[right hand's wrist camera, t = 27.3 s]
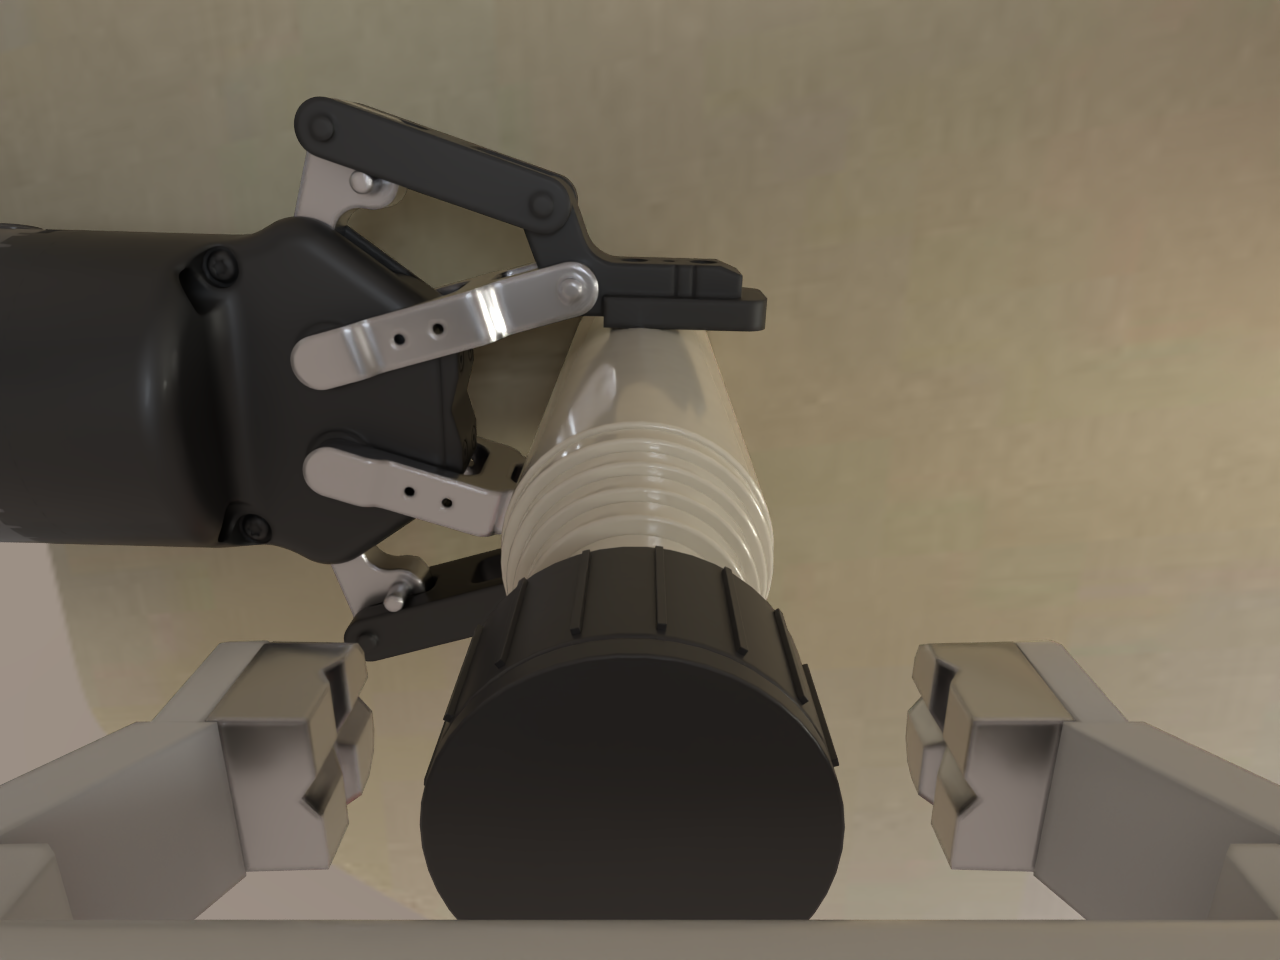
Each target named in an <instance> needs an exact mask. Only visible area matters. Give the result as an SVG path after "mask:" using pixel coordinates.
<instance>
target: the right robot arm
mask: <svg viewBox="0 0 1280 960" xmlns="http://www.w3.org/2000/svg"><path fill="white" fill-rule="evenodd" d="M367 678H368V674H367V668H366V662H365V655H364V651H363V650H362V648H361V647H360V645H359V644H358V643H328V642H276V641H273V642H269V641H230V642H224V643H220V644H219V645H218V646H217V647H216V648H215V649H214V650H213V651H212V652H211V654H210V655H209V656H208V657H207V658H206V659H205V660H204V662H203V663H202V664H201V665H200V666H199V667H198V668H197V670H196V671H195V672H194V673H193V674H192V675H191V676H190V678H189V679H188V680H187V681H186V682H185V683H184V684H183V686H182V687H181V688H180V689H179V690H178V691H177V692H176V694H175V695H174V696H173V697H172V698H171V699H170V700H169V702H168V703H167V704H166V705H165V706H164V707H163V708H162V710H161V711H160V712H159V713H158V714H157V715H156V716H155V718H154V719H153V720H152V721H151V722H135V723H133V724H131V725H128V726H126V727H124V728H122V729H120V730H118V731H116V732H113V733H111V734H109V735H107V736H105V737H103V738H101V739H98V740H96V741H94V742H92V743H90V744H88V745H86V746H84V747H81V748H79V749H77V750H75V751H73V752H71V753H69V754H66V755H64V756H62V757H60V758H58V759H56V760H53V761H51V762H49V763H47V764H45V765H43V766H41V767H38V768H36V769H34V770H32V771H30V772H28V773H26V774H23V775H21V776H19V777H17V778H15V779H13V780H11V781H8V782H6V783H4V784H2V785H0V960H1280V785H1278V784H1276V783H1273V782H1271V781H1269V780H1267V779H1265V778H1263V777H1261V776H1258V775H1256V774H1254V773H1252V772H1250V771H1248V770H1246V769H1243V768H1241V767H1239V766H1237V765H1235V764H1233V763H1231V762H1228V761H1226V760H1224V759H1222V758H1220V757H1218V756H1216V755H1214V754H1211V753H1209V752H1207V751H1205V750H1203V749H1201V748H1199V747H1196V746H1194V745H1192V744H1190V743H1188V742H1186V741H1184V740H1181V739H1179V738H1177V737H1175V736H1173V735H1171V734H1169V733H1166V732H1164V731H1162V730H1160V729H1158V728H1156V727H1154V726H1152V725H1149V724H1147V723H1145V722H1129V721H1128V720H1127V719H1126V718H1125V717H1124V715H1123V714H1122V713H1121V712H1120V711H1119V710H1118V709H1117V707H1116V706H1115V705H1114V704H1113V703H1112V702H1111V701H1110V699H1109V698H1108V697H1107V696H1106V695H1105V694H1104V693H1103V691H1102V690H1101V689H1100V688H1099V687H1098V686H1097V685H1096V683H1095V682H1094V681H1093V680H1092V679H1091V678H1090V677H1089V675H1088V674H1087V673H1086V672H1085V671H1084V670H1083V669H1082V667H1081V666H1080V665H1079V664H1078V663H1077V662H1076V661H1075V659H1074V658H1073V657H1072V656H1071V655H1070V654H1069V653H1068V651H1067V650H1066V649H1065V648H1064V647H1063V646H1062V645H1061V644H1059V643H1057V642H1054V641H1052V640H1048V641H1024V642H980V643H939V644H923V645H919V647H918V650H917V653H916V656H915V659H914V667H913V674H912V678H913V680H914V682H915V684H916V686H917V688H918V690H919V692H920V694H921V698H920V699H919V700H918V701H917V702H916V703H915V704H914V705H913V706H912V707H911V708H910V709H909V711H908V716H907V727H906V749H907V761H908V765H909V770H910V774H911V778H912V780H913V783H914V785H915V788H916V790H917V792H918V795H920V796H921V797H922V798H924V799H925V800H927V801H928V802H930V803H931V804H932V805H933V811H932V819H931V825H932V827H933V829H934V831H935V834H936V836H937V838H938V840H939V843H940V845H941V847H942V849H943V852H944V854H945V856H946V858H947V861H948V863H949V865H950V867H951V869H958V870H994V871H1031V872H1034V876H1035V877H1036V878H1037V879H1039V880H1040V881H1041V882H1042V883H1043V884H1044V885H1046V886H1047V887H1048V888H1049V889H1050V890H1052V891H1053V892H1054V893H1055V894H1056V895H1058V896H1059V897H1060V898H1061V899H1062V900H1064V901H1065V902H1066V903H1067V904H1068V905H1069V906H1071V907H1072V908H1073V909H1074V910H1075V911H1077V912H1078V913H1079V914H1080V915H1081V916H1083V917H1084V918H1085V919H1086V920H194V919H195V918H197V917H198V916H199V915H200V914H201V913H203V912H204V911H205V910H206V909H207V908H208V907H210V906H211V905H212V904H213V903H214V902H216V901H217V900H218V899H219V898H220V897H222V896H223V895H224V894H225V893H226V892H228V891H229V890H230V889H231V888H232V887H234V886H235V885H236V884H237V883H238V882H240V881H241V880H242V879H243V878H244V877H245V876H246V872H249V871H284V870H319V869H329V867H330V865H331V863H332V861H333V858H334V856H335V854H336V852H337V849H338V847H339V845H340V843H341V840H342V838H343V836H344V834H345V831H346V829H347V827H348V825H349V819H348V811H347V805H348V804H349V803H350V802H352V801H353V800H355V799H356V798H358V797H359V796H360V795H362V792H363V790H364V788H365V785H366V783H367V780H368V778H369V774H370V769H371V764H372V758H373V753H374V724H373V715H372V711H371V709H370V708H369V707H368V706H367V705H366V704H365V703H364V702H363V701H362V700H361V699H360V698H359V694H360V692H361V690H362V688H363V686H364V684H365V682H366V680H367Z"/></svg>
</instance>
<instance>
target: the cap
mask: <svg viewBox="0 0 1280 960" xmlns="http://www.w3.org/2000/svg"><path fill="white" fill-rule="evenodd" d="M443 720H445V722H444V725H443V728H442V730H441V733H440V736H439V739H438V742H437V745H436V747H435V750H434V753H433V756H432V759H431V761H430V764H429V767H428V770H427V773H426V776H425V778H424V786H425V788H424V792H423V796H422V801H421V813H420V831H421V841H422V849H423V852H424V856H425V860H426V864H427V867H428V871H429V873H430V875H431V878H432V880H433V882H434V884H435V887H436V889H437V891H438V893H439V894H440V896H441V898H442V899H443V901H444V902H445V904H446V906H447V907H448V909H449V910H450V911H451V913H452V914H453V915H454V916H455V917H456V919H457V920H809V919H810V918H811V917H812V916H813V914H814V913H815V912H816V910H817V909H818V907H819V905H820V904H821V902H822V901H823V899H824V898H825V896H826V894H827V893H828V890H829V888H830V886H831V883H832V881H833V879H834V877H835V874H836V872H837V868H838V864H839V861H840V857H841V853H842V849H843V840H844V830H845V823H844V806H843V801H842V796H841V792H840V788H839V783H838V780H837V777H836V773H835V770H834V767H835V766H839V762H838V758H837V755H836V752H835V749H834V746H833V743H832V739H831V736H830V733H829V730H828V727H827V724H826V721H825V717H824V714H823V711H822V708H821V705H820V702H819V699H818V696H817V692H816V689H815V686H814V683H813V680H812V677H811V674H810V670H809V667H808V664H804V665H802V663H801V660H800V657H799V654H798V651H797V649H796V646H795V644H794V641H793V639H792V636H791V635H790V633H789V631H788V629H787V626H786V623H785V620H784V616H783V613H782V612H781V611H780V609H779V608H778V609H776V610H774V609H773V608H772V606H771V605H770V604H769V603H768V602H767V601H766V600H765V599H764V598H763V597H762V596H761V595H760V594H759V593H758V592H757V591H756V590H755V589H754V588H753V587H751V586H750V585H748V584H747V583H746V582H744V581H743V580H741V579H740V578H739V577H737V576H736V575H734V574H733V573H732V570H731V569H730V568H728V567H726V566H725V567H724V568H721V567H720V566H718V565H716V564H714V563H711V562H709V561H706V560H703V559H701V558H698V557H696V556H693V555H689V554H685V553H681V552H677V551H673V550H669V549H663V546H655V548H653V547H615V548H607V549H599V550H595V551H591V552H590V549H588V550H584V551H582V554H578V555H575V556H572V557H570V558H567V559H565V560H562V561H559V562H557V563H554V564H552V565H550V566H549V567H547V568H545V569H543V570H541V571H539V572H537V573H535V574H534V575H532V576H531V577H530V578H528V579H526V578H525V577H523V578H522V579H521V580H519V581H518V585H517V587H516V588H515V589H514V590H513V591H512V592H511V593H509V594H508V595H507V596H506V597H505V598H504V599H503V600H502V601H501V602H500V603H499V605H498V606H497V607H496V608H495V610H494V611H493V612H492V613H491V615H490V616H489V617H488V619H487V620H486V622H485V624H484V626H481V625H479V624H478V626H477V627H476V629H475V631H474V634H473V637H472V640H471V643H470V645H469V648H468V651H467V654H466V657H465V659H464V662H463V665H462V668H461V670H460V673H459V676H458V679H457V682H456V684H455V687H454V690H453V693H452V696H451V698H450V701H449V704H448V707H447V710H446V712H445V715H444V718H443Z"/></svg>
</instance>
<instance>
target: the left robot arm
mask: <svg viewBox="0 0 1280 960" xmlns="http://www.w3.org/2000/svg"><path fill="white" fill-rule="evenodd" d="M294 128H295V133H296V136H297V139H298V141H299V142H300V144H301V145H302V146H303V148H304V149H305V150H306V151H307V153H306V158H305V163H304V168H303V173H302V179H301V184H300V189H299V194H298V199H297V204H296V209H295V214H294V217H288V218H284V219H281V220H278V221H276V222H274V223H272V224H271V225H269V226H268V227H266V228H264V229H263V230H261V231H259V232H257V233H254V234H248V235H224V234H189V233H153V232H118V231H85V230H47V229H46V230H43V229H41V228H38V227H33V226H27V225H20V224H6V223H0V542H25V543H54V544H93V545H134V546H173V547H210V548H221V547H237V546H248V545H261V544H268V545H275V546H279V547H283V548H286V549H289V550H291V551H293V552H296V553H298V554H300V555H302V556H304V557H306V558H308V559H310V560H312V561H315V562H318V563H323V564H331V566H332V568H333V571H334V573H335V575H336V577H337V580H338V582H339V584H340V586H341V589H342V591H343V593H344V595H345V598H346V600H347V602H348V605H349V607H350V609H351V611H352V614H353V617H354V618H353V620H352V622H351V623H350V625H349V626H348V628H347V630H346V632H345V634H344V643H358V644H359V645H360V647H361V648H362V650H363V651H364V655H365V661H377V660H381V659H385V658H389V657H393V656H397V655H401V654H405V653H409V652H413V651H417V650H421V649H425V648H429V647H433V646H437V645H441V644H445V643H449V642H453V641H457V640H461V639H465V638H469V637H473V634H474V631H475V629H476V627H477V626H478V624H479V625H481V626H484V624H485V622H486V620H487V619H488V617H489V616H490V615H491V613H492V612H493V611H494V610H495V608H496V607H497V606H498V605H499V603H500V602H501V601H502V600H503V599H504V598H505V597H506V592H505V588H504V584H503V580H502V571H501V548H500V549H496V550H492V551H489V552H485V553H481V554H477V555H473V556H469V557H465V558H462V559H458V560H454V561H450V562H446V563H442V564H438V565H435V566H431V567H428V565H427V564H426V563H425V562H424V561H423V560H422V559H421V558H420V557H418V556H411V555H403V556H393V555H389V554H386V553H385V552H383V551H381V550H380V549H379V548H378V547H377V546H376V545H377V544H378V543H380V542H381V541H383V540H384V539H386V538H387V537H389V536H390V535H392V534H393V533H395V532H396V531H398V530H399V529H401V528H402V527H404V526H405V525H407V524H408V523H410V522H411V521H413V520H414V519H416V518H417V519H420V520H424V521H427V522H431V523H434V524H437V525H441V526H444V527H448V528H451V529H454V530H458V531H461V532H465V533H468V534H471V535H475V536H482V537H487V536H492V535H495V534H502V528H503V522H504V517H505V513H506V511H507V508H508V505H509V502H510V499H511V497H512V494H513V491H514V489H515V486H516V484H517V481H518V479H519V476H520V474H521V471H522V468H523V466H524V463H525V461H526V457H524V456H523V455H522V454H521V453H520V452H519V451H518V450H516V449H514V448H512V447H510V446H507V445H504V444H501V443H498V442H494V441H491V440H488V439H484V438H481V437H478V436H477V433H476V418H475V415H474V412H473V408H472V405H471V402H470V399H469V396H468V392H467V386H468V381H469V377H470V373H471V369H472V364H473V360H474V354H473V348H476V347H479V346H483V345H486V344H489V343H492V342H495V341H497V340H499V339H501V338H503V337H506V336H508V335H511V334H515V333H518V332H522V331H526V330H529V329H533V328H537V327H540V326H544V325H548V324H551V323H555V322H559V321H563V320H566V319H570V318H574V317H577V316H602V317H604V325H603V328H648V329H676V330H714V331H760V330H764V329H765V319H766V306H767V298H766V297H765V295H764V294H763V293H762V292H761V291H760V290H758V289H753V288H745V287H742V274H741V273H740V272H739V271H738V270H737V269H736V268H735V267H732V266H730V265H728V264H726V263H723V262H721V261H719V260H717V259H690V258H656V257H619V256H612V255H608V254H606V253H604V252H602V251H601V250H599V249H598V248H597V247H596V246H595V245H594V244H593V242H592V241H591V239H590V238H589V235H588V233H587V230H586V227H585V224H584V221H583V218H582V215H581V212H580V209H579V207H578V196H577V192H576V189H575V187H574V185H573V184H572V182H571V181H570V180H569V179H567V178H566V177H564V176H562V175H560V174H557V173H555V172H552V171H549V170H546V169H543V168H541V167H538V166H535V165H532V164H529V163H527V162H524V161H521V160H518V159H515V158H512V157H510V156H507V155H504V154H501V153H498V152H496V151H493V150H490V149H487V148H484V147H482V146H479V145H476V144H473V143H470V142H467V141H465V140H462V139H459V138H456V137H453V136H451V135H448V134H445V133H442V132H439V131H437V130H434V129H431V128H428V127H425V126H422V125H420V124H417V123H414V122H411V121H408V120H406V119H403V118H400V117H397V116H394V115H391V114H389V113H386V112H383V111H380V110H377V109H375V108H372V107H369V106H366V105H363V104H360V103H354V102H349V101H345V100H339V99H333V98H327V97H313V98H310V99H308V100H306V101H305V102H304V103H302V104H301V106H300V107H299V108H298V110H297V112H296V115H295V119H294ZM407 188H408V189H411V190H414V191H417V192H420V193H422V194H425V195H428V196H431V197H434V198H437V199H440V200H443V201H445V202H448V203H451V204H454V205H457V206H460V207H463V208H466V209H469V210H471V211H474V212H477V213H480V214H483V215H486V216H489V217H492V218H495V219H497V220H500V221H503V222H506V223H509V224H512V225H515V226H518V227H520V228H523V229H524V231H525V234H526V237H527V240H528V242H529V245H530V248H531V250H532V253H533V256H534V259H535V261H536V262H532V263H529V264H525V265H522V266H518V267H514V268H511V269H506V270H499V271H495V272H491V273H487V274H483V275H480V276H476V277H473V278H469V279H465V280H462V281H458V282H455V283H451V284H447V285H444V286H440V287H437V288H432V287H431V286H429V285H428V284H427V283H425V282H424V281H422V280H421V279H420V278H418V277H417V276H416V275H414V274H413V273H412V272H410V271H409V270H407V269H406V268H405V267H403V266H402V265H401V264H399V263H398V262H396V261H395V260H394V259H392V258H391V257H390V256H388V255H387V254H386V253H384V252H383V251H381V250H380V249H379V248H377V247H376V246H375V245H373V244H372V243H370V242H369V241H368V240H366V239H365V238H364V237H362V236H361V235H360V234H358V233H357V232H355V231H354V230H353V229H351V228H350V227H349V226H347V222H348V220H349V218H350V216H351V215H352V214H353V213H354V212H355V211H356V210H357V209H359V208H365V209H371V210H376V209H381V208H386V207H391V206H394V205H396V204H397V203H399V202H400V201H401V200H402V199H403V197H404V196H405V194H406V191H407ZM471 459H472V460H473V461H471ZM447 498H449V499H450V500H449V499H447Z"/></svg>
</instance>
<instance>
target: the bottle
mask: <svg viewBox="0 0 1280 960" xmlns="http://www.w3.org/2000/svg"><path fill="white" fill-rule="evenodd" d="M603 325H604V317H602V316H583V317H582V319H581V321H580V323H579V325H578V328H577V330H576V333H575V335H574V338H573V341H572V343H571V346H570V348H569V351H568V353H567V356H566V358H565V361H564V364H563V366H562V369H561V371H560V374H559V376H558V379H557V381H556V384H555V387H554V389H553V392H552V394H551V397H550V399H549V402H548V404H547V407H546V410H545V412H544V415H543V417H542V420H541V422H540V425H539V428H538V430H537V433H536V435H535V438H534V440H533V443H532V445H531V448H530V451H529V453H528V456H527V458H526V461H525V463H524V466H523V468H522V471H521V474H520V476H519V479H518V481H517V484H516V486H515V489H514V491H513V494H512V497H511V499H510V502H509V505H508V508H507V511H506V513H505V517H504V522H503V528H502V538H501V571H502V580H503V584H504V588H505V592H506V596H507V595H508V594H509V593H511V592H512V591H513V590H514V589H515V588H516V587H517V585H518V581H519V580H521V579H522V578H523V577H525V578H526V579H528V578H530V577H531V576H532V575H534V574H535V573H537V572H539V571H541V570H543V569H545V568H547V567H549V566H550V565H552V564H554V563H557V562H559V561H562V560H565V559H567V558H570V557H572V556H575V555H578V554H582V551H584V550H588V549H590V552H591V551H595V550H599V549H607V548H615V547H653V548H655V546H663V549H669V550H673V551H677V552H681V553H685V554H689V555H693V556H696V557H698V558H701V559H703V560H706V561H709V562H711V563H714V564H716V565H718V566H720V567H721V568H724V567H725V566H726V567H728V568H730V569H731V570H732V573H733V574H734V575H736V576H737V577H739V578H740V579H741V580H743V581H744V582H746V583H747V584H748V585H750V586H751V587H753V588H754V589H755V590H756V591H757V592H758V593H759V594H760V595H761V596H762V597H763V598H764V599H765V600H766V601H767V597H768V594H769V591H770V588H771V582H772V576H773V560H774V536H773V528H772V522H771V518H770V515H769V511H768V507H767V504H766V502H765V499H764V496H763V493H762V490H761V487H760V484H759V481H758V479H757V476H756V473H755V470H754V467H753V464H752V461H751V459H750V456H749V453H748V450H747V447H746V444H745V441H744V438H743V436H742V433H741V430H740V427H739V424H738V421H737V418H736V415H735V413H734V410H733V407H732V404H731V401H730V398H729V395H728V392H727V390H726V387H725V384H724V381H723V378H722V375H721V372H720V369H719V367H718V364H717V361H716V358H715V355H714V352H713V349H712V346H711V344H710V341H709V338H708V335H707V332H706V330H676V329H648V328H603Z"/></svg>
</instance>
